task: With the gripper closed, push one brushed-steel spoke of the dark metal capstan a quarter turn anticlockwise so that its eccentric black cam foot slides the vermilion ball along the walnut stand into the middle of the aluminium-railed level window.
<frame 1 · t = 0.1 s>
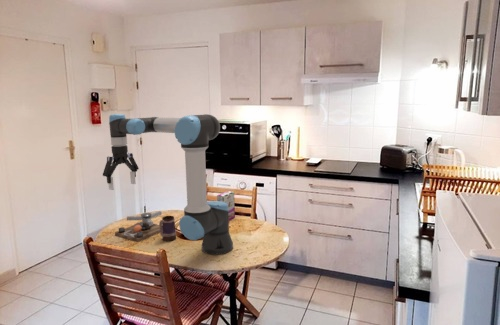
hand: (122, 186, 180), 28 cm above the table, fingers open, 13 cm apart
candy bar box: (226, 220, 211), on the table
walnut stand: (141, 232, 193), on the table
mug: (167, 240, 182), on the table
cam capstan: (149, 220, 195), point 6 cm above the table, hinge at 0.0°
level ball: (137, 228, 188), point 4 cm above the table, slide at 0.0 cm
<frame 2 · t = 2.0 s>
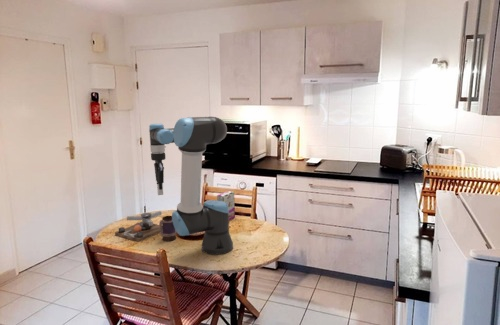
hand: (160, 194, 194), 20 cm above the table, fingers closed
nothing on the table moved.
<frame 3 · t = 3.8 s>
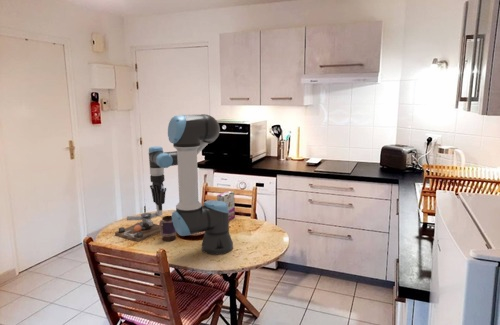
hand: (159, 215, 199), 7 cm above the table, fingers closed
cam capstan: (149, 220, 195), point 6 cm above the table, hinge at 0.2°, touching gripper
everything else where it was.
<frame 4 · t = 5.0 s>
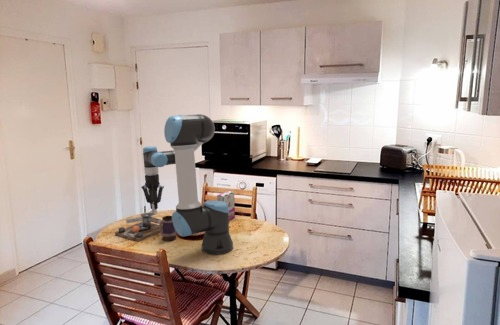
hand: (154, 214, 201), 7 cm above the table, fingers closed
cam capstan: (148, 220, 195), point 6 cm above the table, hinge at 26.9°, touching gripper, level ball
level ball: (136, 229, 187), point 4 cm above the table, slide at 1.2 cm, touching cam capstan
everything else where it was.
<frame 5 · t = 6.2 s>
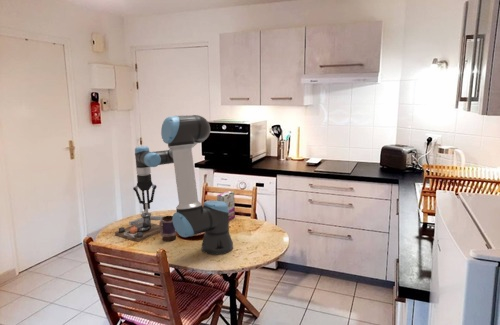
hand: (147, 214, 201), 7 cm above the table, fingers closed
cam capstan: (145, 220, 195), point 6 cm above the table, hinge at 56.1°, touching gripper
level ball: (133, 230, 185), point 4 cm above the table, slide at 2.8 cm
everything else where it was.
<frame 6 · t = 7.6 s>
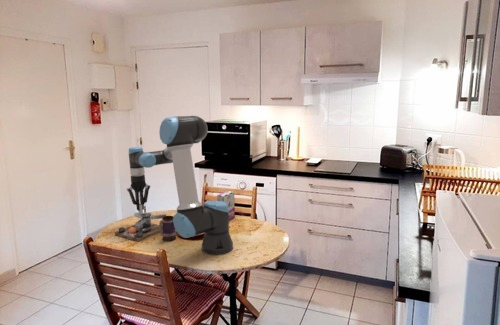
hand: (140, 215, 199), 7 cm above the table, fingers closed
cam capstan: (144, 220, 194), point 6 cm above the table, hinge at 80.6°, touching gripper
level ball: (132, 230, 185), point 4 cm above the table, slide at 3.5 cm
everything else where it was.
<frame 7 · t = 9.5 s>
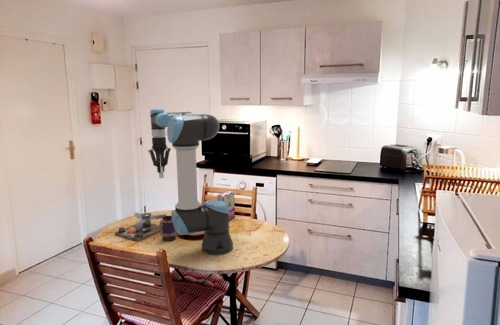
hand: (161, 177, 201), 27 cm above the table, fingers closed
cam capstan: (144, 220, 194), point 6 cm above the table, hinge at 80.7°
everything else where it was.
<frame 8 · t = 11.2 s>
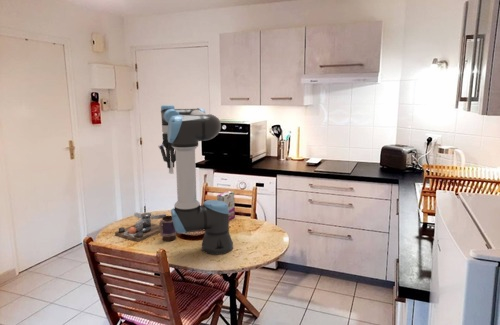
hand: (171, 173, 204), 29 cm above the table, fingers closed
nothing on the table moved.
at the end: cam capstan at +81° (first picture: +0°); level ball slide at 3.5 cm; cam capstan touching nothing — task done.
